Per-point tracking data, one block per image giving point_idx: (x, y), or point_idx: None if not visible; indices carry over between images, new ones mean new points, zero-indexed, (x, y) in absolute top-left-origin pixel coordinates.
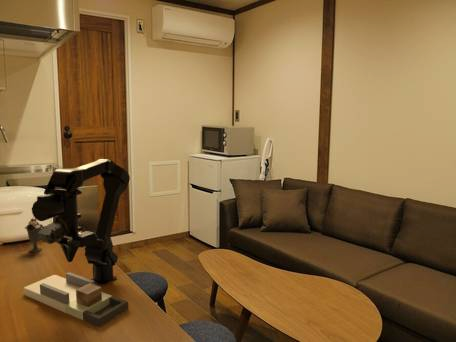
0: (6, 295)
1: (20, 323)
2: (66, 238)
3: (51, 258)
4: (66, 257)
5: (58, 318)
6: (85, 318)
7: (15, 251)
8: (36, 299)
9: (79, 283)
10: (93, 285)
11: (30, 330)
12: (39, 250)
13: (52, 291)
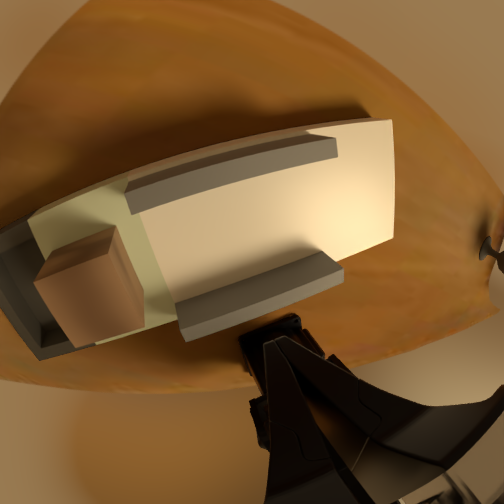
0: (399, 84)
1: (184, 14)
2: (416, 492)
3: (453, 263)
4: (303, 356)
5: (108, 133)
6: (24, 217)
7: (500, 216)
8: (313, 124)
9: (250, 287)
10: (110, 332)
11: (105, 28)
12: (481, 253)
13: (234, 157)
